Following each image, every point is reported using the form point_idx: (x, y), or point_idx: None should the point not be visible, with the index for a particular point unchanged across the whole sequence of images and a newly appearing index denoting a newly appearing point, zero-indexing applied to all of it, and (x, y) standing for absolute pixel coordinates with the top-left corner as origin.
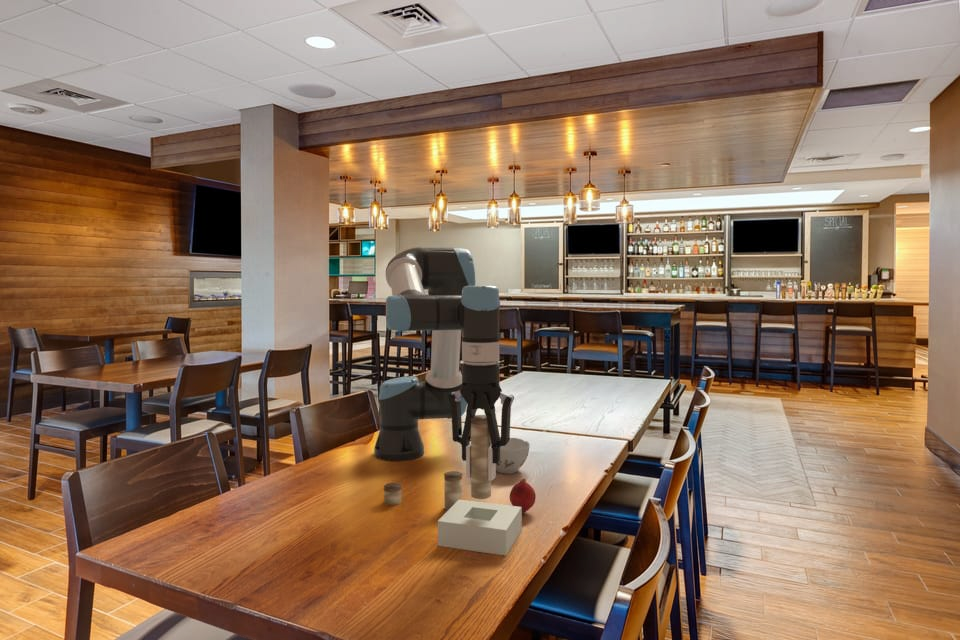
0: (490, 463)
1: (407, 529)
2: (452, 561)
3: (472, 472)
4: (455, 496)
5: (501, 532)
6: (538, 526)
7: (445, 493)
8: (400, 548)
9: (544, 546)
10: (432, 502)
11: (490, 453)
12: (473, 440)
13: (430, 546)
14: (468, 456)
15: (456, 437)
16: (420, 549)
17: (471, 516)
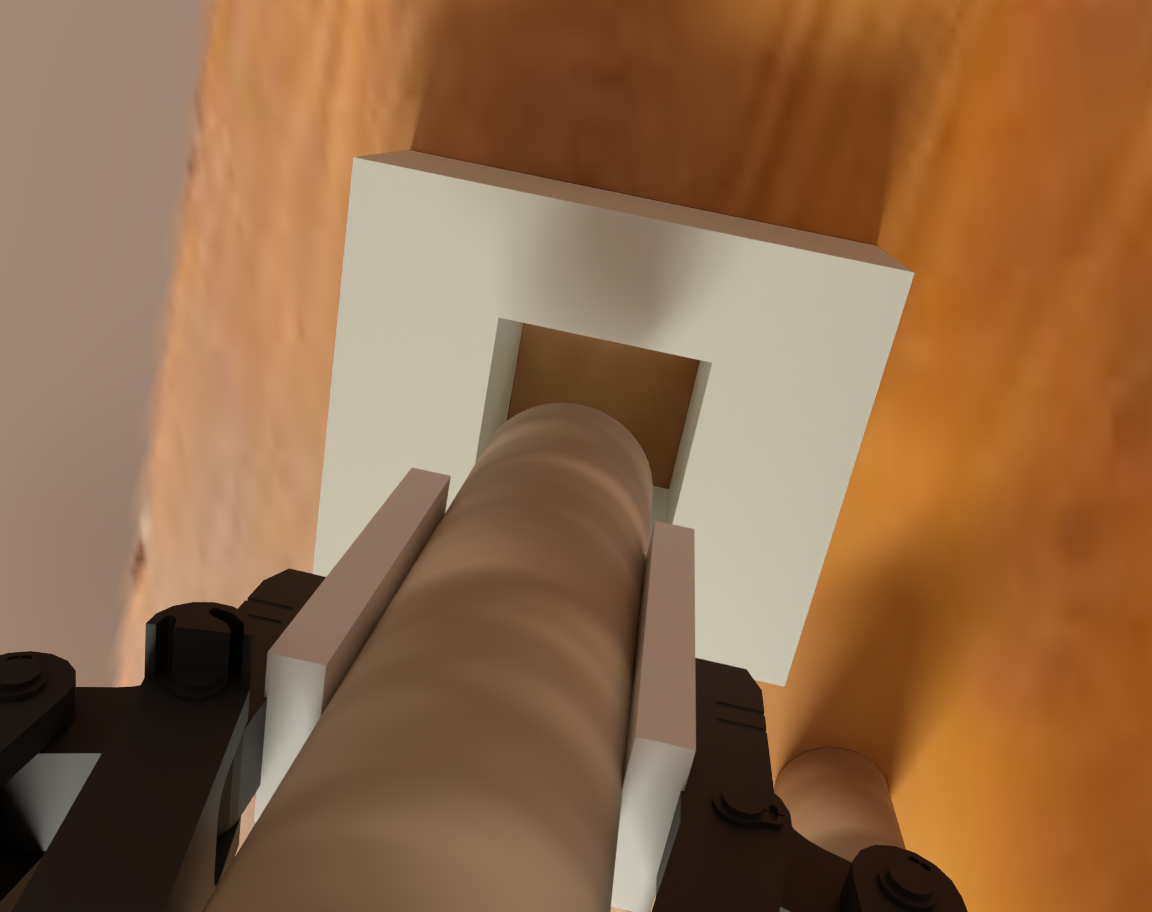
0: (367, 553)
1: (1120, 472)
2: (750, 23)
3: (616, 532)
4: (822, 818)
5: (397, 164)
6: (277, 571)
7: (901, 846)
8: (1148, 175)
9: (204, 310)
10: (978, 869)
11: (318, 619)
12: (544, 763)
13: (929, 231)
14: (661, 655)
15: (890, 903)
16: (997, 177)
17: (671, 511)
